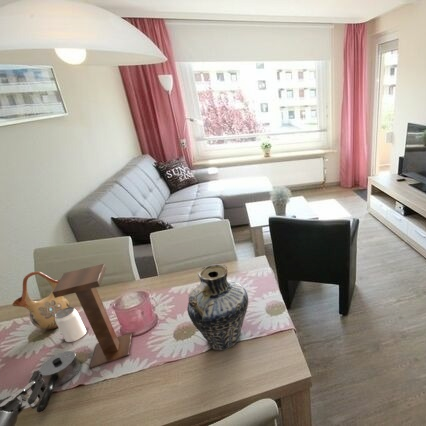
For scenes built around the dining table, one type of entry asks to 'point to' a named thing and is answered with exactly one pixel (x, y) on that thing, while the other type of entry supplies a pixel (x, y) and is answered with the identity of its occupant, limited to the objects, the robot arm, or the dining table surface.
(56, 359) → the pot
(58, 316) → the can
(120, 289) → the dining table surface
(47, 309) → the ceramic vessel
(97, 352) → the stand
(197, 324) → the blue patterned vase
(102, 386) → the dining table surface
